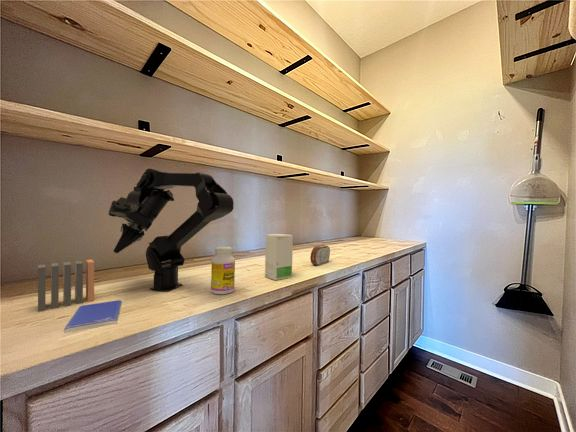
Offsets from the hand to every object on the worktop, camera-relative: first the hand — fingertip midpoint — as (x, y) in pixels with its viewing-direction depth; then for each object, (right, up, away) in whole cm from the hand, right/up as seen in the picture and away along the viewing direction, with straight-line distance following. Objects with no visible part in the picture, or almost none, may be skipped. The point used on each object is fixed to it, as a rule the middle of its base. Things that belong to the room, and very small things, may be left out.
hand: (115, 252), depth 65 cm
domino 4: (-5, -12, -2) cm, 13 cm away
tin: (+62, -13, +46) cm, 78 cm away
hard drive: (+5, -13, -12) cm, 19 cm away
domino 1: (-11, -12, -9) cm, 18 cm away
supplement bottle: (+28, -12, +5) cm, 31 cm away
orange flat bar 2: (-6, -12, -4) cm, 14 cm away
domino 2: (-10, -12, -7) cm, 17 cm away
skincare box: (+44, -13, +22) cm, 50 cm away
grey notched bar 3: (-8, -12, -5) cm, 15 cm away
